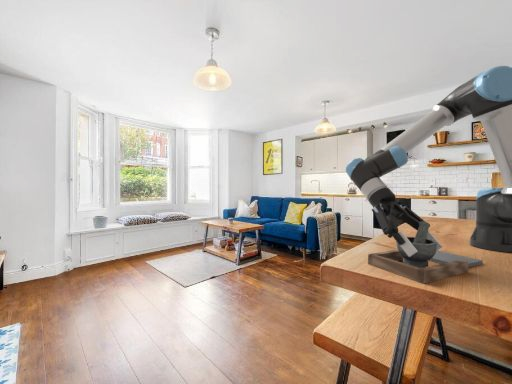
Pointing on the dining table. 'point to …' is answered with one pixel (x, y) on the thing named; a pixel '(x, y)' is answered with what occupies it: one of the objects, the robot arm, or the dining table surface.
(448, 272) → the rectangular wooden frame
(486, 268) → the dining table surface
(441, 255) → the slate mat
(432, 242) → the mortar and pestle
